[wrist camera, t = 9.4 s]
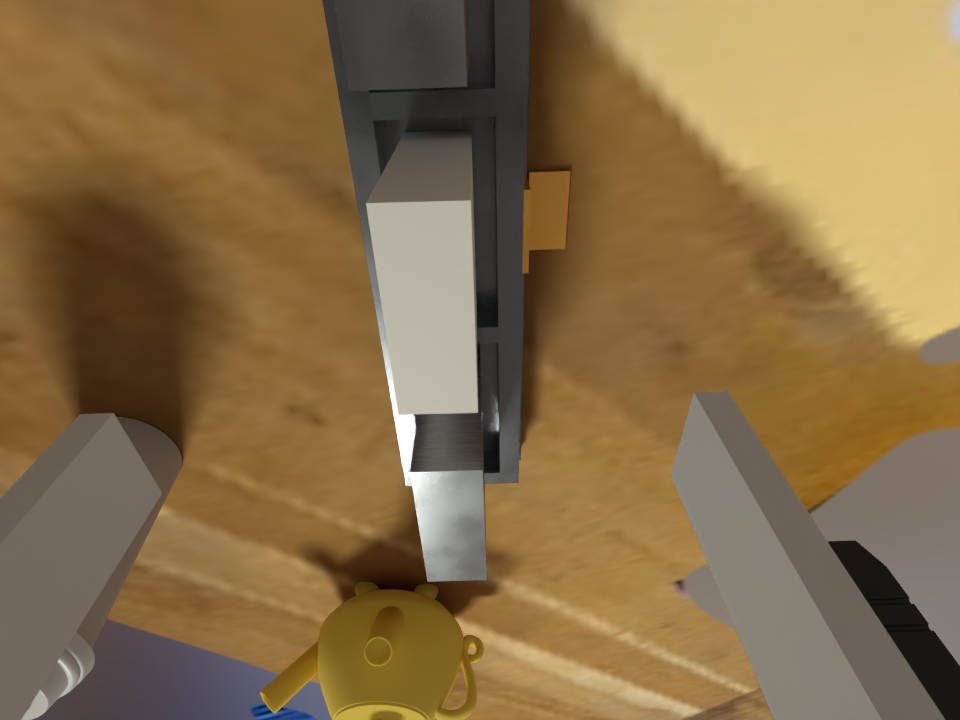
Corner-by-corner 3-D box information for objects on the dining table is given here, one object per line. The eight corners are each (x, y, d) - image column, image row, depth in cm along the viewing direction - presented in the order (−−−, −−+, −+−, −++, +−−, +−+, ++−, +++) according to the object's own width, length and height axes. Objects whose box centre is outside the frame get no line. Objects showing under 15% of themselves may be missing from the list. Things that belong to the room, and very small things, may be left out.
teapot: (394, 537, 41) (371, 688, 32) (498, 605, 47) (503, 748, 38) (284, 600, 46) (237, 745, 37) (390, 653, 52) (373, 790, 43)
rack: (283, -307, 16) (39, -711, 7) (604, -321, 16) (775, -748, 7) (406, 453, 36) (383, 604, 27) (550, 448, 35) (577, 599, 26)
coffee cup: (163, 389, 32) (-29, 627, 20) (227, 489, 37) (108, 723, 25) (25, 407, 33) (-244, 647, 20) (108, 502, 38) (-65, 736, 26)
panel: (404, 132, 23) (365, 203, 14) (471, 130, 23) (470, 200, 14) (420, 292, 27) (398, 414, 19) (476, 290, 27) (478, 412, 19)
